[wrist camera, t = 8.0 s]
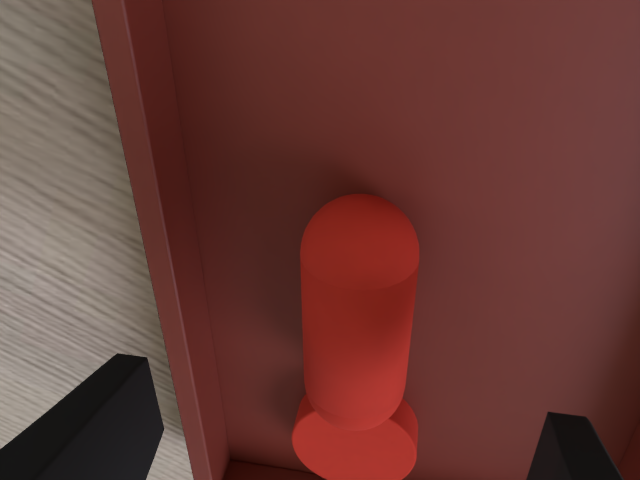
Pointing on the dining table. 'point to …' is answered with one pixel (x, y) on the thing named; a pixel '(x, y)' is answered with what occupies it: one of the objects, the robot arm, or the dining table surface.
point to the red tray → (404, 192)
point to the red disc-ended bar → (357, 341)
